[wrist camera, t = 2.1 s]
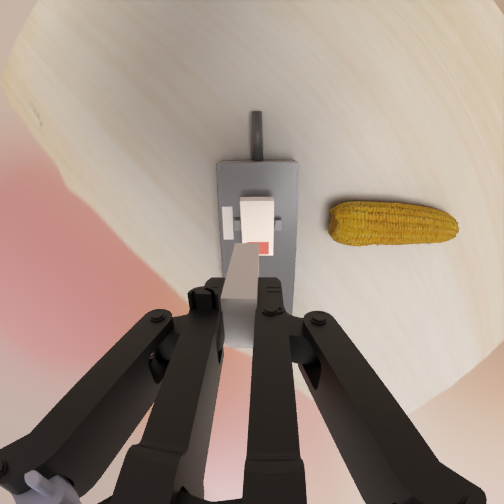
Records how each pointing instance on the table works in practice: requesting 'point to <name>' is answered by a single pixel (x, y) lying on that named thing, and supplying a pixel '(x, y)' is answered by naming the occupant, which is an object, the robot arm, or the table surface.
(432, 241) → the food
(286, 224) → the power strip
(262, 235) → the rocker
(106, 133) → the table surface
